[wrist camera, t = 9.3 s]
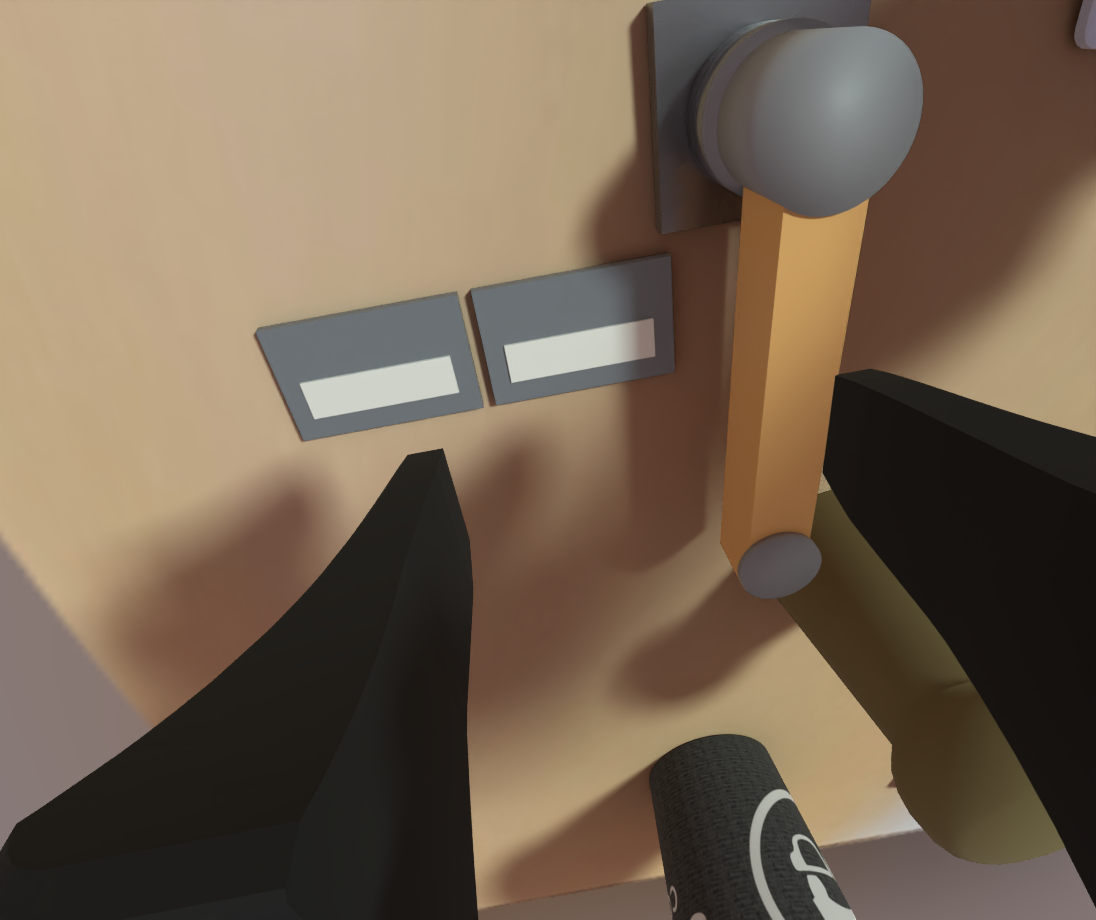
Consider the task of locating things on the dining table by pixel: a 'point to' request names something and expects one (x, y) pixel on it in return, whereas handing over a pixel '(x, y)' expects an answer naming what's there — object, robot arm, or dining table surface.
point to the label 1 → (374, 366)
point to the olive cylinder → (918, 702)
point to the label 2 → (577, 328)
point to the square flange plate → (711, 92)
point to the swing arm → (800, 269)
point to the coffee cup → (737, 838)
